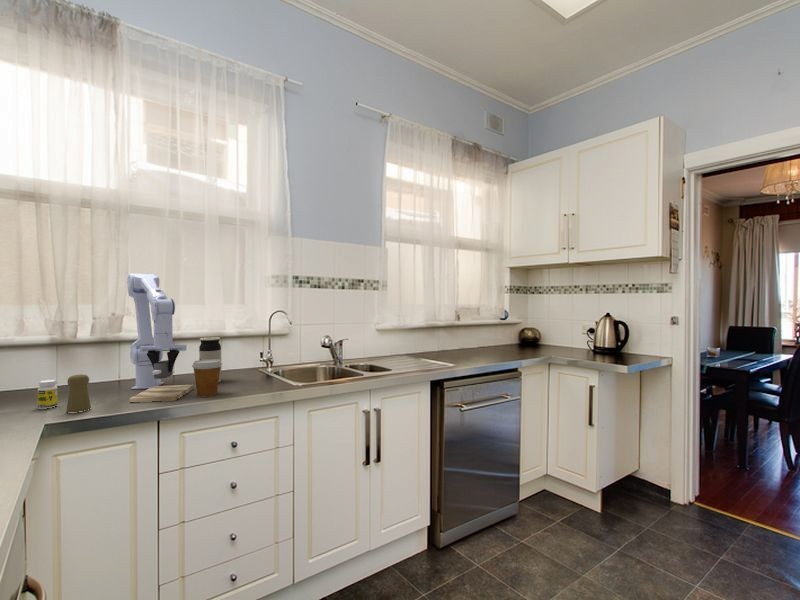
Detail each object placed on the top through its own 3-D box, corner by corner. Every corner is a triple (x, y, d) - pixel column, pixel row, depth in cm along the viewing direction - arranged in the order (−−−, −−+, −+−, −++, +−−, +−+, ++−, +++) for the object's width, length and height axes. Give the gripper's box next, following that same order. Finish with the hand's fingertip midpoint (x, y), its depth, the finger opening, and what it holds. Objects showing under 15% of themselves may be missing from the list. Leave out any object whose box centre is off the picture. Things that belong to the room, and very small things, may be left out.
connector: (162, 374, 146) (162, 360, 146) (174, 373, 146) (174, 359, 146) (148, 380, 134) (148, 365, 134) (161, 380, 135) (161, 365, 135)
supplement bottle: (34, 410, 124) (34, 383, 123) (41, 406, 128) (40, 380, 128) (54, 408, 125) (54, 381, 125) (60, 404, 130) (59, 378, 130)
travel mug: (222, 379, 168) (221, 336, 168) (220, 383, 161) (219, 338, 160) (201, 381, 166) (200, 337, 166) (198, 385, 158) (197, 339, 158)
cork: (88, 406, 127) (87, 372, 127) (93, 410, 123) (93, 374, 123) (63, 411, 122) (63, 375, 122) (68, 414, 119) (68, 377, 118)
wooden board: (153, 390, 149) (153, 386, 149) (193, 388, 152) (193, 384, 152) (129, 402, 132) (129, 398, 132) (175, 400, 134) (175, 396, 134)
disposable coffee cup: (218, 397, 139) (218, 362, 139) (188, 398, 137) (188, 363, 137) (224, 391, 148) (224, 358, 148) (196, 392, 146) (196, 359, 146)
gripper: (135, 334, 136) (135, 374, 136) (181, 333, 139) (181, 372, 139) (144, 332, 143) (145, 370, 143) (188, 332, 146) (188, 369, 146)
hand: (163, 371), depth 142 cm, fingers closed on connector, 4 cm apart
